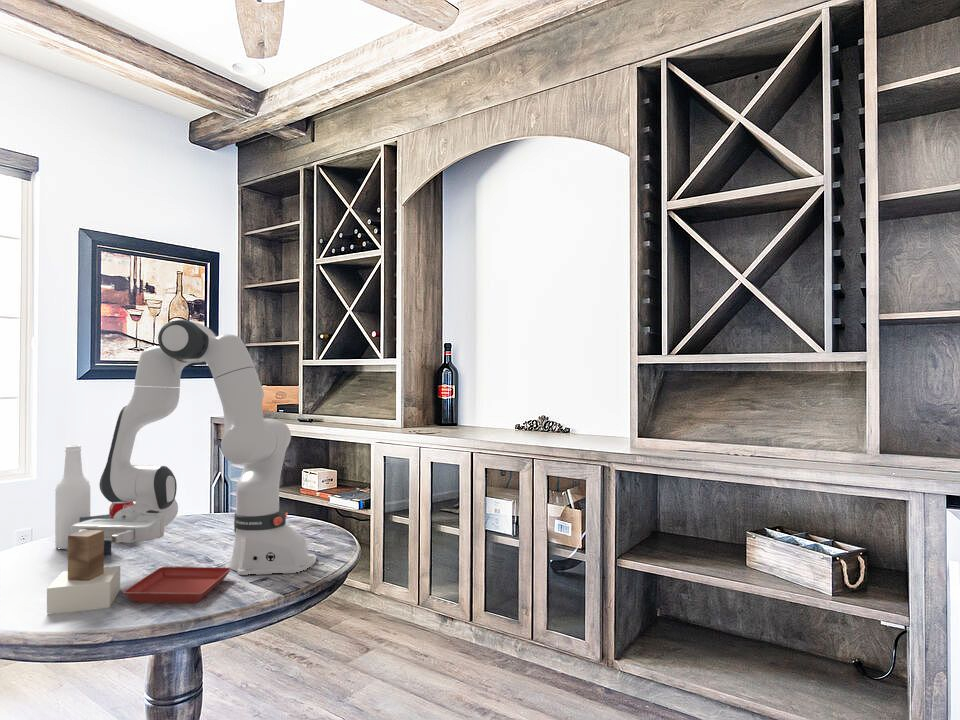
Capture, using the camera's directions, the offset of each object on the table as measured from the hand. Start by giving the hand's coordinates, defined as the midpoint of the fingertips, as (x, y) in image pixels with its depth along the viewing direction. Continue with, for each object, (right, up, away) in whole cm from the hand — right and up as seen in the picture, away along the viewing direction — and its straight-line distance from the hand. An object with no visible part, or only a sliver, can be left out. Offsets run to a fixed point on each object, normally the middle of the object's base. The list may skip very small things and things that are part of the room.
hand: (95, 538), depth 149 cm
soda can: (-21, -14, +48) cm, 54 cm away
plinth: (-1, -14, -3) cm, 14 cm away
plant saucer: (+18, -14, +4) cm, 23 cm away
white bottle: (-31, -14, +40) cm, 53 cm away
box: (-20, -14, +33) cm, 40 cm away
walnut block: (0, -8, -3) cm, 8 cm away
